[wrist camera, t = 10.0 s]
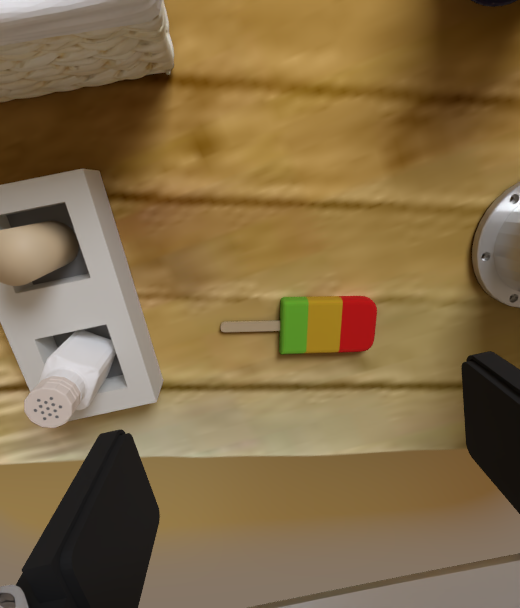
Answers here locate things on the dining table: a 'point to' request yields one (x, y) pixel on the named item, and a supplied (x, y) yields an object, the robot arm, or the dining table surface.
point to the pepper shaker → (70, 379)
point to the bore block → (72, 284)
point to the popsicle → (318, 324)
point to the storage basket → (80, 44)
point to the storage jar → (494, 2)
